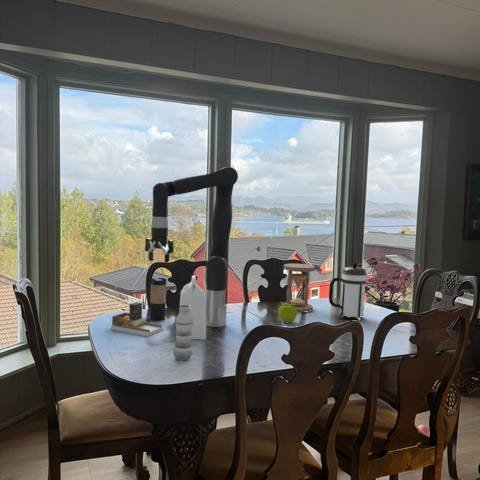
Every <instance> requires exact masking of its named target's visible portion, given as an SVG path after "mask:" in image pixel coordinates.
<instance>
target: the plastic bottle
mask: <svg viewBox="0 0 480 480" xmlns="http://www.w3.org/2000/svg"><path fill="white" fill-rule="evenodd" d="M178 311H180V313H178V314H177V315H176V318H175V319H174V320H175V321H174V323H175V335H176V336H175V344H174V349H173V356H174V358H175V359H176V360H178V361H186V360H190V359H191V357H192V353H193V349H192V340H191V331H192V325H193V318H192V316H191V315H190V313H189V311H190V306H188V305H181V306H180V305H179V309H178Z"/></svg>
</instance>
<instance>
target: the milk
mask: <svg viewBox="0 0 480 480" xmlns="http://www.w3.org/2000/svg"><path fill="white" fill-rule="evenodd" d="M196 280H197V278H196V275H191V281H190V282H189V283H187V284H185V285H184V286H183V288H182V289H181V290H180V295H179V296H180V299H179V307H180V306H181V305H188V306H190V311H189V313H190V315H191V316H192V318H193V325H192V331H191V339H200V340H207V326H206V292H205V291H204V290H203V288H202V287H200V285H199V284H197V281H196ZM178 311H179V310H178ZM179 313H180V311H179ZM179 313H178V314H179Z"/></svg>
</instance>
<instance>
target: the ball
mask: <svg viewBox="0 0 480 480" xmlns="http://www.w3.org/2000/svg"><path fill="white" fill-rule="evenodd" d="M127 319H129V316H124V317H123V323H124V324H126V320H127Z"/></svg>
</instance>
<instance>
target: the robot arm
mask: <svg viewBox="0 0 480 480" xmlns="http://www.w3.org/2000/svg"><path fill="white" fill-rule="evenodd" d="M238 178H239V174H238V172H237V170H236V169H235V168H234V167H232V166H224V167H222V168H220V169H218V170H216V171H213V172H210V173H206V174H200V175H199V174H198V175H194V176H186V177H182V178H177V179H174V180H171V181H166V182H165V181H164V182H158V183H156V184H154V185H153V187H152V209H151V210H152V217H151V228H150V230H151V232H150V233H151V234H150V236H151V237H150V238H149V237H148V238H145V243H144V251H145V252H147V253H148V261H149V262H152V261H154V251H155V250H156V249H159V250H161V251H163V253H164V263H166V264H167V263H169V262H170V254H173V253H174V240H173V239H170V240H169V239H168V236H169V234H168V233H169V220H168V217H169V210H168V208H169V207H168V201H169V197H172V196H177V195H184V194H189V193H193V192H196V191H200V190H201V191H202V190H203V189H204V190H205V189H208V188H213V187H214V188H215V187H216V196H215V197H216V198H215V203H214V206H213V213H212V220H211V238H212V239H211V240H212V244H211V252H210V255H209V259H208V260H207V262H206V266H205V285H206V286H205V288H206V289H205V295H206V327H209V328H212V327H213V328H221V327H223V326H226V324H227V306H228V305H226V288H227V286H226V285H227V284H226V279H227V278H226V277H227V272H226V271H227V267H228V245H229V239H230V235H231V230H232V222H233V205H232V204H233V202H232V201H233V200H232V198H233V197H232V196H233V190H234V186H235V184H236V183H237V181H238Z"/></svg>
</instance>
